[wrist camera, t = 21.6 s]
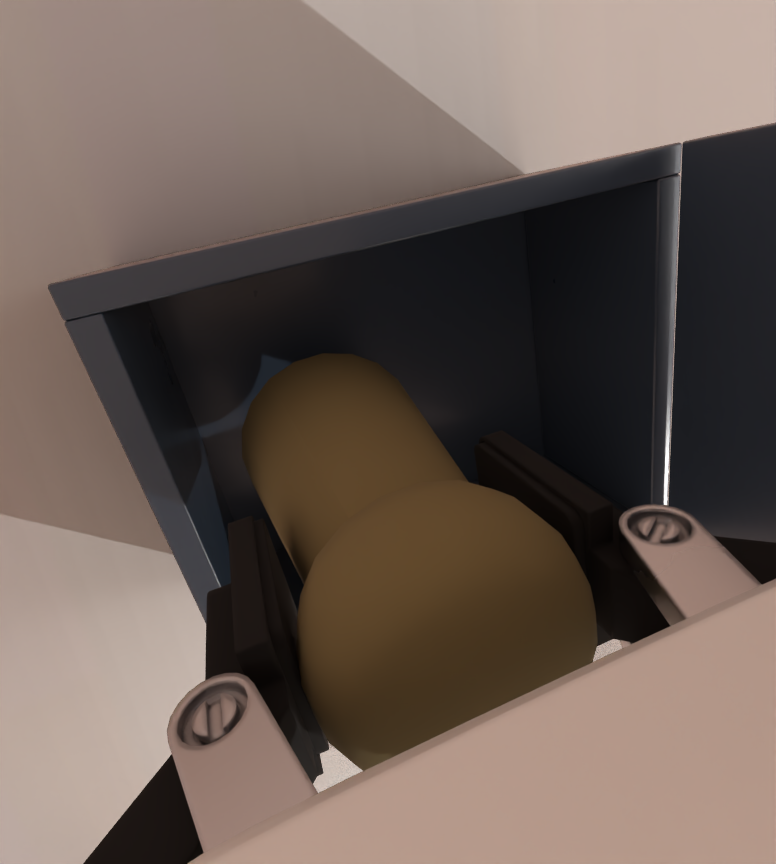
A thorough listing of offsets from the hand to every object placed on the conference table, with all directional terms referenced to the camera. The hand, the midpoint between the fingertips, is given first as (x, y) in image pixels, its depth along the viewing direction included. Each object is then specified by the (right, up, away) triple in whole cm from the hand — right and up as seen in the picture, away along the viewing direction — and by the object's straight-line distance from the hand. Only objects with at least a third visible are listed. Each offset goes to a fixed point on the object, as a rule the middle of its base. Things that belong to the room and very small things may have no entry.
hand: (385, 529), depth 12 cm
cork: (-2, +2, +5) cm, 6 cm away
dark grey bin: (-1, +5, +10) cm, 11 cm away
